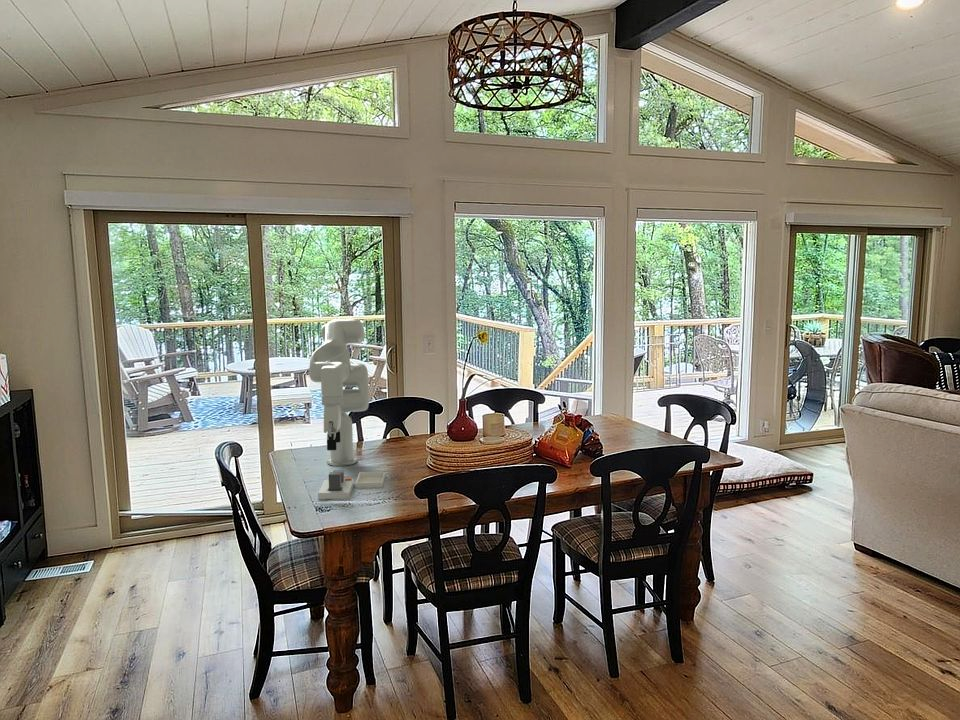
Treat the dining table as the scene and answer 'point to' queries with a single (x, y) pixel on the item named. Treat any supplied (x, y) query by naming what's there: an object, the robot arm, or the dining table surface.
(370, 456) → the dining table surface
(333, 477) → the plug
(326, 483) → the socket strip
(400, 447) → the dining table surface
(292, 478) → the dining table surface
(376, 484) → the tray
